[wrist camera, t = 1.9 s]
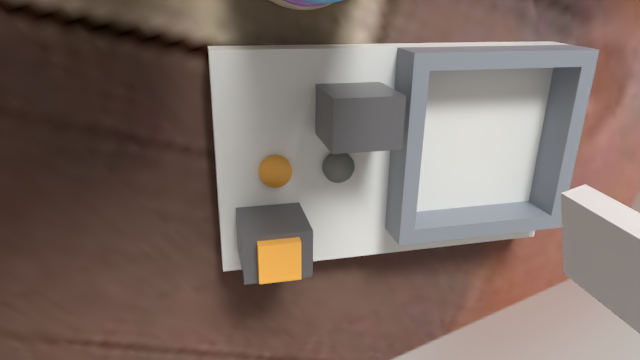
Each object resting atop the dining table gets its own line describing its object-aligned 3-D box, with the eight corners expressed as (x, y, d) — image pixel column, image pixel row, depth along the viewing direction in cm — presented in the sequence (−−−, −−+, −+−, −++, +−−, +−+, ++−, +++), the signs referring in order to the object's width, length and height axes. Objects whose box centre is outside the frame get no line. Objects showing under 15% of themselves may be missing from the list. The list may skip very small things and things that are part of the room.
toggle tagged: (238, 250, 32) (245, 290, 28) (235, 207, 31) (242, 243, 27) (299, 243, 33) (315, 282, 29) (299, 202, 32) (315, 235, 28)
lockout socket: (385, 227, 34) (398, 245, 32) (397, 47, 30) (414, 53, 28) (538, 212, 37) (561, 227, 35) (570, 44, 32) (599, 49, 30)
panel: (221, 256, 34) (223, 274, 32) (207, 46, 29) (208, 51, 27) (518, 224, 39) (537, 238, 37) (550, 41, 34) (575, 45, 32)
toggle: (315, 133, 30) (332, 154, 27) (315, 84, 29) (333, 98, 26) (377, 129, 31) (402, 149, 28) (380, 82, 30) (406, 96, 27)
